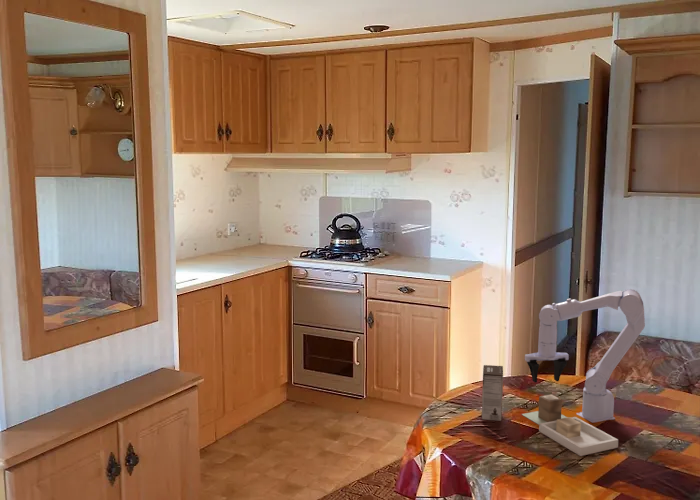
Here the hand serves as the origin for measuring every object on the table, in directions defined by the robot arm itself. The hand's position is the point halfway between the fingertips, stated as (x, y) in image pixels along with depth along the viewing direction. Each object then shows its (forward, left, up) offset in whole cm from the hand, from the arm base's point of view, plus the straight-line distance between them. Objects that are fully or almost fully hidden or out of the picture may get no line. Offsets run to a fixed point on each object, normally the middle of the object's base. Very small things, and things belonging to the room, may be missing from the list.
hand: (545, 381), depth 219 cm
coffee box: (+19, -3, -11) cm, 22 cm away
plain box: (+6, +19, -10) cm, 22 cm away
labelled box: (+4, +8, -10) cm, 13 cm away
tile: (+4, +7, -10) cm, 13 cm away
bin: (+6, +23, -10) cm, 26 cm away
